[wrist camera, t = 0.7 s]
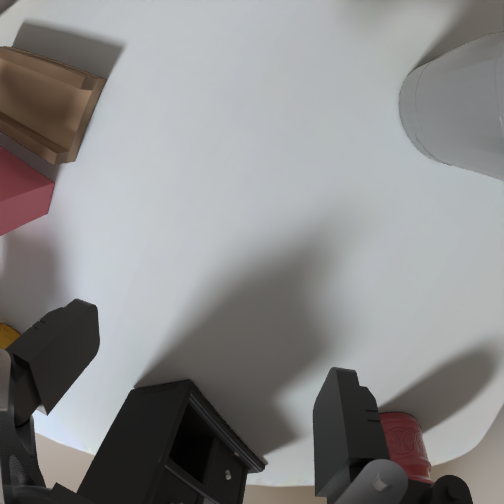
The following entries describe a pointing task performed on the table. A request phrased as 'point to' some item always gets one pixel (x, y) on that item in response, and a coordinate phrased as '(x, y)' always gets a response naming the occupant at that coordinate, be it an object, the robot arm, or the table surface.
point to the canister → (406, 445)
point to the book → (21, 192)
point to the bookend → (169, 452)
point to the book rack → (45, 103)
